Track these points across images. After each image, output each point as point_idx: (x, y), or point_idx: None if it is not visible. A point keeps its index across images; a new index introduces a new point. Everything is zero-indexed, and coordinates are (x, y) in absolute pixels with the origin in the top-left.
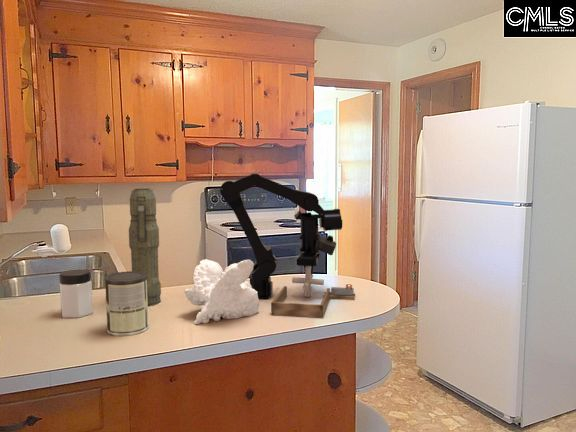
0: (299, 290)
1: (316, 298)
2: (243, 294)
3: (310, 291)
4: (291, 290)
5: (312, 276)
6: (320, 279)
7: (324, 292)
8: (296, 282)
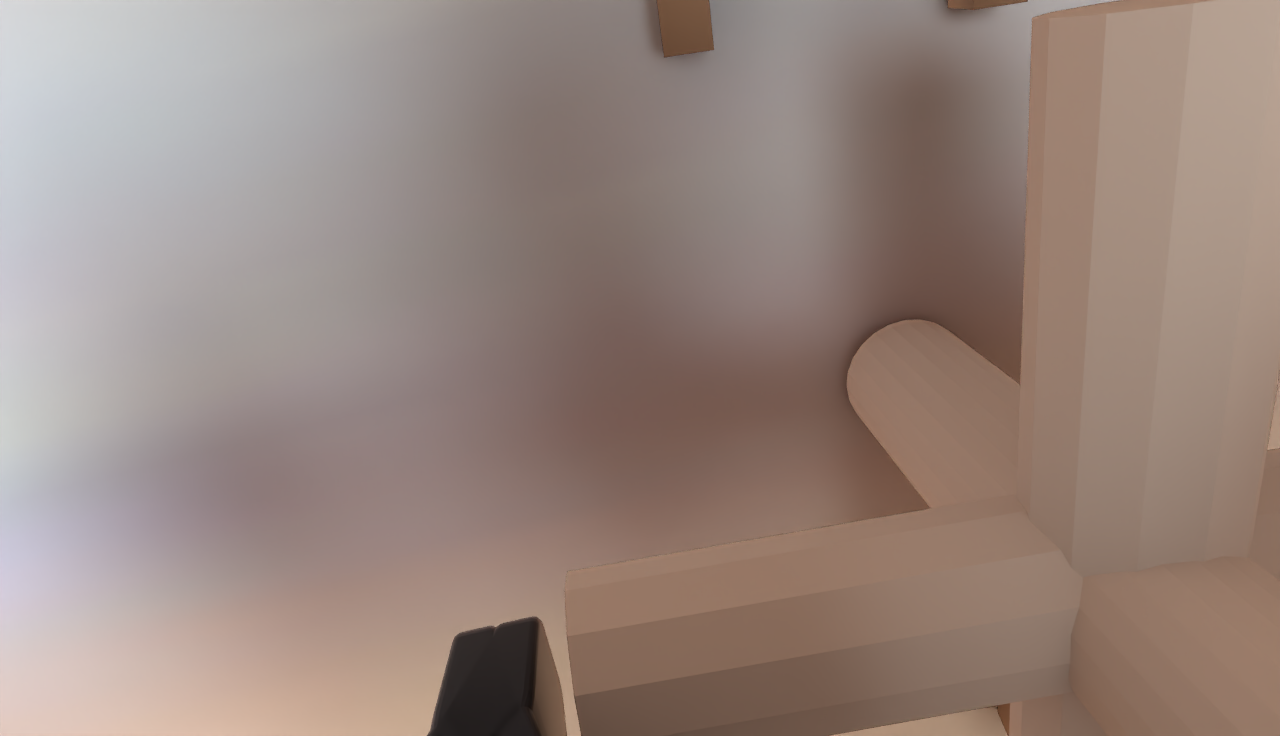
0: (510, 606)
1: (1012, 154)
2: None
3: (968, 360)
4: (564, 711)
5: (673, 591)
6: (1259, 160)
7: (712, 39)
8: None
